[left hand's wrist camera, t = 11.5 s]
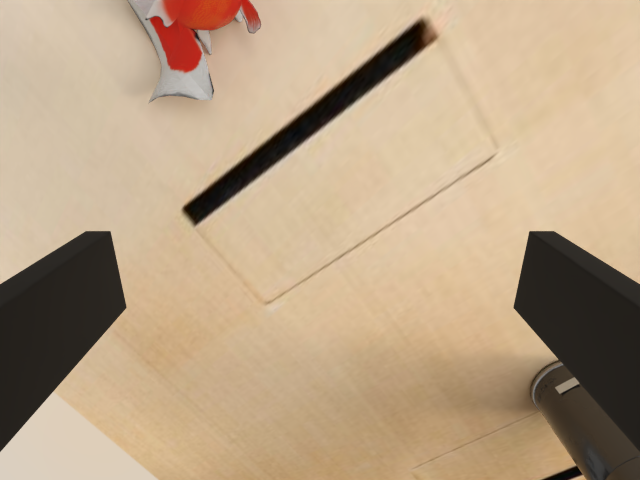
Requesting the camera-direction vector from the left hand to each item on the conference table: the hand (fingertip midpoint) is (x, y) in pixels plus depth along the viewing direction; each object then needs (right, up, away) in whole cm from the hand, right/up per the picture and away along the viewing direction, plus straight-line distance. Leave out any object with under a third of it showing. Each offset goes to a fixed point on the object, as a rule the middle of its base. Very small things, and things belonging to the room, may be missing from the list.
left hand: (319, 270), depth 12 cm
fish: (-11, +20, +25) cm, 34 cm away
